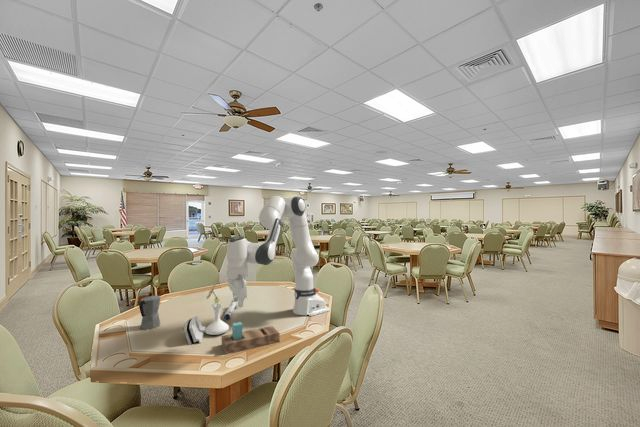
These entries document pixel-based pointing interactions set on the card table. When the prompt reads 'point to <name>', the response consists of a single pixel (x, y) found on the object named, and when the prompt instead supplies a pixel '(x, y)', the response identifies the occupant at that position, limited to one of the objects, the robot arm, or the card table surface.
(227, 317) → the white plastic cylinder
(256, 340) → the socket block
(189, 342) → the white plastic case
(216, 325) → the flower in vase
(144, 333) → the card table surface
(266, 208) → the robot arm
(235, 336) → the peg
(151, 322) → the coffeepot
